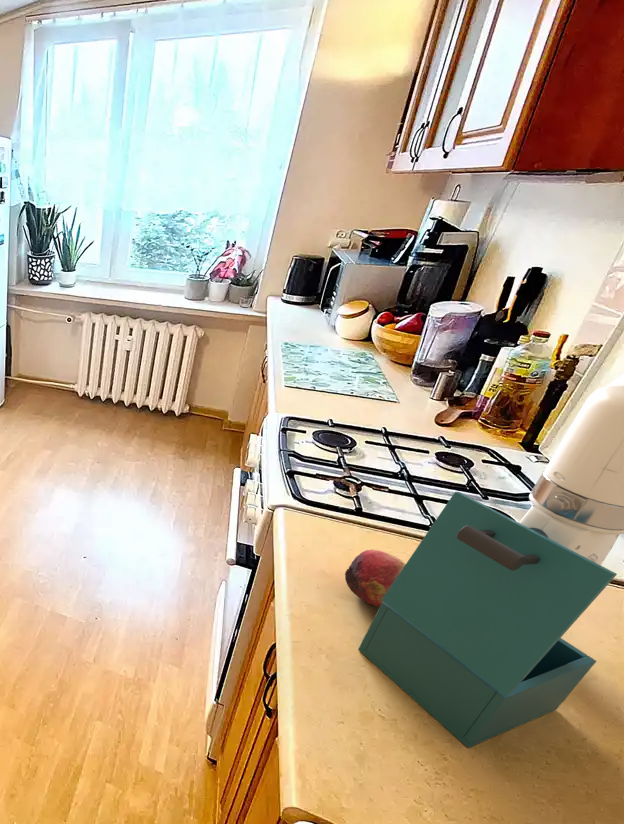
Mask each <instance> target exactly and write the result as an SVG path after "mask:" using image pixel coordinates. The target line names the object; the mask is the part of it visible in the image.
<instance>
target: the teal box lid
mask: <svg viewBox="0 0 624 824" xmlns="http://www.w3.org/2000/svg"><path fill="white" fill-rule="evenodd" d="M405 564H406V565H405V566H404V568H403V569H402V571H401V572H400V574H399V575H398V576H397V578H396V579H395V581H394V582H393V584H392V585H391V587H390V588H389V590H388V591H387V593H386V594H385V596H384V597H383V598H382V601H383V602H385V603H386V604H387V605H389V606H390V607H391V608H392V609H394V610H395V611H396V612H398V613H399V614H400V615H401V616H403V617H404V618H405V619H407V620H408V621H409V622H410V623H412V624H413V625H414V626H416V627H417V628H418V629H419V630H421V631H422V632H423V633H425V634H426V635H427V636H428V637H430V638H431V639H432V640H434V641H435V642H436V643H437V644H439V645H440V646H441V647H443V648H444V649H445V650H447V651H448V652H449V653H450V654H452V655H453V656H454V657H456V658H457V659H458V660H459V661H461V662H462V663H463V664H465V665H466V666H467V667H468V668H470V669H471V670H472V671H474V672H475V673H476V674H477V675H479V676H480V677H481V678H483V679H484V680H485V681H486V682H488V683H489V684H490V685H492V686H493V687H494V688H496V689H497V690H498V691H499V692H501V693H502V694H503V695H505V696H508V695H510V694H511V693H512V692H513V691H514V689H515V688H516V687H517V686H518V685H519V684H520V683H521V682H522V680H523V679H524V678H525V677H526V676H527V675H528V674H529V673H530V671H531V670H532V669H533V668H534V667H535V666H536V665H537V664H538V663H539V661H540V660H541V659H542V658H543V657H544V656H545V655H546V654H547V652H548V651H549V650H550V649H551V648H552V647H553V646H554V645H555V643H556V642H557V641H558V640H559V639H560V638H562V637H563V636H564V635H565V634H566V632H567V631H568V630H569V629H570V628H571V627H572V626H573V625H574V623H575V622H576V621H577V620H578V619H579V618H580V617H581V615H582V614H583V613H585V611H586V610H587V609H588V608H589V606H591V604H592V603H593V602H595V600H596V599H597V598H598V597H599V595H601V593H602V592H603V591H604V590H605V589H606V588H607V586H608V585H610V583H611V582H612V581H613V580H614V578H615V577H616V576H617V575H618V574H617V572H614V571H612V570H610V569H608V567H607V568H606V567H605V566H603V565H602V564H601V565H599V564H597V563H595V562H593V561H591V560H589V559H587V558H585V557H584V556H582V555H580V554H578V553H576V552H574V551H572V550H570V549H568V548H566V547H564V546H562V545H560V544H559V543H557V542H555V541H553V540H551V539H549V538H547V537H545V536H543V535H541V534H539V533H537V532H536V531H534V530H532V529H530V528H528V527H526V526H524V525H522V524H520V523H519V522H518V521H516V520H515V519H513V518H510V517H509V516H507V515H505V514H503V513H502V512H499V511H497V510H495V509H493V508H491V507H489V506H487V505H486V504H484V503H482V502H480V501H478V500H476V499H475V498H473V497H470V496H469V495H466V494H464V493H462V492H461V491H455V492H454V493H453V494H452V495H451V497H450V499H449V500H448V501H447V503H446V505H445V506H444V508H443V509H442V510H441V512H440V513H439V514H438V516H437V518H436V519H435V520H434V522H433V524H432V525H431V526H430V528H429V530H428V531H427V532H426V534H425V535H424V537H423V538H422V539H421V541H420V542H419V544H418V545H417V547H416V548H415V550H414V551H413V553H412V554H411V556H410V557H409V559H408V560H407V562H406V563H405Z"/></svg>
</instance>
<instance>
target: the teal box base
mask: <svg viewBox="0 0 624 824" xmlns="http://www.w3.org/2000/svg"><path fill="white" fill-rule="evenodd" d="M357 650H358V652H360V653H361V654H362V655H364V657H366V658H367V659H368V660H369V661H370V662H371V663H372V664H373V665H375V667H377V669H379V670H380V671H381V672H382V673H383V674H384V675H386V676H387V677H388V678H389V679H390V680H391V681H392V682H393V683H394V684H396V685H397V686H398V687H399V688H400V689H401V690H402V691H403V692H405V693H406V694H407V695H408V696H409V697H410V698H411V699H412V700H413V701H415V702H416V703H417V704H418V705H419V706H420V707H421V708H423V709H424V711H425V712H427V713H428V714H429V715H430V716H431V717H432V718H433V719H434V720H436V721H437V722H438V723H439V724H440V725H441V726H443V728H445V729H446V730H447V731H448V732H449V733H451V734H452V736H453V737H455V739H457V740H458V741H459V742H460V743H462V745H463V746H465V747H466V748H467V749H470V748H472V747H474V746H477V745H478V744H481V743H483V742H486V741H488V740H490V739H493V738H495V737H497V736H499V735H501V734H504V733H507V732H508V731H511V730H513V729H515V728H518V727H520V726H522V725H524V724H527V723H529V722H532V721H534V720H536V719H538V718H540V717H543V716H545V715H548V714H550V713H552V712H554V711H556V710H558V708H560V706H561V705H562V704H563V702H564V701H565V700H566V699H567V698H568V696H570V694H571V693H572V692H573V691H574V689H575V688H576V687H577V685H579V683H580V682H581V681H582V680H583V679H584V677H585V676H586V675H587V673H588V672H589V671H590V670H591V669H592V667H594V665H595V664H596V663H597V660H596V659H594V658H593V657H591V656H590V655H588V654H587V653H586V652H583V651H582V650H580V649H579V648H577V647H576V646H574V645H573V644H571V643H570V642H568V641H566V640H565V639H563V638H562V637H561V638H560V639H559V640H558V641H557V642H556V643H555V645H554V646H553V647H552V648H551V649H550V650H549V651H548V652H547V654H546V655H545V656H544V657H543V658H542V659H541V660H540V661H539V663H538V664H537V665H536V666H535V667H534V668H533V669H532V670H531V671H530V673H529V674H528V675H527V676H526V677H525V678H524V679H523V680H522V682H521V683H520V684H519V685H518V686H517V687H516V688H515V689H514V691H513V692H512V693H511V694H510V695H508V696H505V695H503V694H502V693H501V692H499V691H498V690H497V689H496V688H494V687H493V686H492V685H490V684H489V683H488V682H486V681H485V680H484V679H483V678H481V677H480V676H479V675H477V674H476V673H475V672H474V671H472V670H471V669H470V668H468V667H467V666H466V665H465V664H463V663H462V662H461V661H459V660H458V659H457V658H456V657H454V656H453V655H452V654H450V653H449V652H448V651H447V650H445V649H444V648H443V647H441V646H440V645H439V644H437V643H436V642H435V641H434V640H432V639H431V638H430V637H428V636H427V635H426V634H425V633H423V632H422V631H421V630H419V629H418V628H417V627H416V626H414V625H413V624H412V623H410V622H409V621H408V620H407V619H405V618H404V617H403V616H401V615H400V614H399V613H398V612H396V611H395V610H394V609H392V608H391V607H390V606H389V605H387V604H386V603H385V602H382V604H381V606H380V607H378V610H377V612H376V613H375V616H374V618H373V619H372V621H371V624H370V625H369V627H368V629H367V631H366V634H365V635H364V637H363V639H362V640H361V643H360V645H359V646H358V649H357Z"/></svg>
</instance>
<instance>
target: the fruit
mask: <svg viewBox="0 0 624 824" xmlns="http://www.w3.org/2000/svg"><path fill="white" fill-rule="evenodd" d="M405 565H406V563H405V562H404V561H403V560H402V559H400V558H399V557H396V556H395V555H393V554H390V553H389V552H385V550H384V551H383V550H380V549H367V550H365V551H361V552H360V553H359V554H358V555H356V556H355V558H354V559H353V560H352V561H351V563H350V565H349V566H348V568H347V569H346V570H345V573H344V579H345V583H346V585H347V586H348V588H349V590H350V591H351V592H352V593H353V594H354V595H355V596H357V598H359V599H360V600H362V601H364V602H365V603H367V604H370V605H371V606H375V607H378V608H380V606H381V604H382V602H383V601H382V598H383V597H384V596H385V594H386V593H387V591H388V590H389V588H390V587H391V585H392V584H393V582H394V581H395V579H396V578H397V576H398V575H399V574H400V572H401V571H402V569H403V568H404V566H405Z"/></svg>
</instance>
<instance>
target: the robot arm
mask: <svg viewBox="0 0 624 824" xmlns="http://www.w3.org/2000/svg"><path fill="white" fill-rule="evenodd" d="M528 500H529V501H530V502H531V504H532V506H531V507H530V508H529V509H528V511H527V512H526V513H525V514H524V516H523V517H522V518H521V519H520V521H519V522H518V523H520V524H522V525H524V526H526V527H528V528H530V529H532V530H534V531H536V532H537V533H539V534H541V535H543V536H545V537H547V538H549V539H551V540H553V541H555V542H557V543H559V544H560V545H562V546H564V547H566V548H568V549H570V550H572V551H574V552H576V553H578V554H580V555H582V556H584V557H585V558H587V559H589V560H591V561H593V562H595V563H597V564H599V565H601V566H602V564H603V563H604V561H605V560H606V558H607V556H608V555H609V553H610V552H611V550H612V548H613V547H614V545H615V544H616V542H617V540H618V538H619V537H620V535H623V534H624V373H622V374H621V375H619V376H617V378H616V379H614V380H613V381H612V382H610V383H609V384H608V385H605V386H602V387H600V388H597V389H596V390H594V391H593V392H592V393H591V394H590V395H589V396H588V398H587V399H586V400H585V402H584V403H583V405H582V406H581V408H580V410H579V412H578V413H577V415H576V417H575V418H574V420H573V421H572V423H571V425H570V427H569V428H568V430H567V431H566V434H565V435H564V436H563V438H562V440H561V441H560V443H559V445H558V447H557V448H556V450H555V452H554V453H553V455H552V456H551V459H550V460H549V462H548V463H547V465H546V466H545V469H544V470H543V472H542V473H541V475H540V476H539V478H538V480H537V481H536V483H535V485H534V487H533V488H532V489H531V491H530V493H529V495H528Z"/></svg>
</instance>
